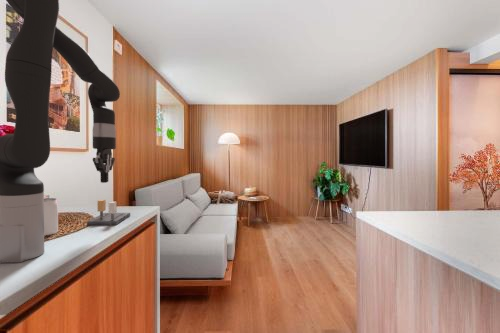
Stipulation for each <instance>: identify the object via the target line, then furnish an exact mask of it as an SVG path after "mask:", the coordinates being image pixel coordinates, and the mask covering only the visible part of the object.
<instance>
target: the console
mask: <svg viewBox="0 0 500 333" xmlns="http://www.w3.org/2000/svg"><path fill="white" fill-rule="evenodd" d="M129 217H131V212H116V213H114V219H111V214H109V212H103V216H102V217H100V214H99V215H97V216H95V217H94V218H91V219H90V220H87V221H86V226H117V225H118V224H120V223H122V222H123V221H125V220H127V219H128V218H129Z"/></svg>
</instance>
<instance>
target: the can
mask: <svg viewBox="0 0 500 333" xmlns="http://www.w3.org/2000/svg"><path fill="white" fill-rule="evenodd" d="M58 204H59V203H58V202H57V198H54V197H53V198H52V197H51V198H50V197H49V198H44V237H47V236H46V235H48V236H53V235H55V234H57V233H58V232H59V205H58ZM52 234H53V235H52Z"/></svg>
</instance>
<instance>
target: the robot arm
mask: <svg viewBox="0 0 500 333" xmlns="http://www.w3.org/2000/svg"><path fill="white" fill-rule="evenodd" d="M6 2H7V4H8V5H9V6H10V7H11V8H12V9H13V11H14V12H16V14H18V15H19V17H21V18H22V19H23V21H22V24H21V27H20V29H19V31H18V33H17V34H16V36H15V37H14V39H13V41H12V42H11V44H10V46H9V48H8V49H7V53H6V57H5V67H4V82H5V87H6V89H7V92H8V94H9V97H10V98H11V100H12V101H11V102H12V104H13V107H14V110H15V122H14V132H13V133H7V134H3V135H1V136H0V264H2V263H5V264H6V263H22V262H25V261H28V260H32V259H34V258H37V257H39V256H42V255H43V254H44V252H45V236H44V199H45V193H44V192H45V185H44V182H43V181H42V180H40V179H39V178H38V177H37V175H36V174H35V169H37V168H40V167H42V166H43V165H44V164H45V163H46V162H48V159H49V158H50V154H51V153H50V152H51V140H50V124H49V121H50V120H49V114H50V113H49V111H50V94H51V93H50V92H51V83H52V82H51V81H52V66H53V65H52V64H53V62H52V60H53V51H54V50H55V51H56V52H57V53H58V55H60V56H61V57H62V58H63V59H64V61H65V62H66V63H67V64H68V66H69V67H70V68H71V69H72V71H73V72H74V73H75V74H76V75H77V77H79V78H80V80H82V81H83V82H85V83H90V85H89V86H88V89H87V95H88V100H89V102H90V106H91V110H92V112H93V114H92V115H93V116H92V120H93V121H92V122H93V123H92V149H94V150H96V153H95V154H96V156H95V157H92V162H93V165H94V166H95V169H96V171H97V172H99V173H100V183H101V184H105V183H108V182H109V173H110V171H112V169H113V167H114V163H115V161H116V158H115V157H113V152H112V150H116V148H117V142H116V141H117V137H116V136H117V135H116V133H117V131H116V112H115V110H113V109H111V108H108V107H107V104H106V103H110V102H111V103H112V102H116V101H118V100H119V99H120V94H121V92H120V89H119V87H118V85H117V84H116V82H114V81H113V79H112V78H110V77H109V76H108V75H107V74H106V73H104V71H102V70H101V69H100V68H99V67H98V65H97V64H96V62H95V61H94V60H93V58H92V57H91V55H90V54H89V52H88V51H86V49H84V48H83V46H81V45H80V44H79V43H78V42H76V41H75V40H74V39H72V38H71V37H69V36H68V35H67V34H66V33H65V32H63V30H61V29H60V28H59V27H58V26H57V22H58V19H59V18H58V17H59V13H60V12H59V11H60V0H6Z"/></svg>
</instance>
